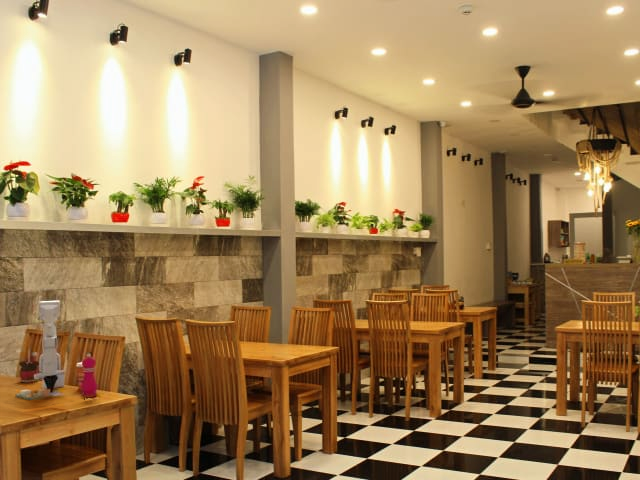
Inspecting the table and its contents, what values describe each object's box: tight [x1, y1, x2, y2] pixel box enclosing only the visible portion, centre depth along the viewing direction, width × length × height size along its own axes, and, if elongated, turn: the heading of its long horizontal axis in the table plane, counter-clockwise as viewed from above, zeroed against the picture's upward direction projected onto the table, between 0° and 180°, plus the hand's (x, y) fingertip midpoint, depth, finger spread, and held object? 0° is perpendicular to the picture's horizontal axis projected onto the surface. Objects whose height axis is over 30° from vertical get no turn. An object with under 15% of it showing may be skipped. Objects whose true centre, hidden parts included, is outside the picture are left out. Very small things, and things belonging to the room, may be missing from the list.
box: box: [15, 393, 46, 401], centre depth 316 cm, size 7×14×2 cm, turn 47°
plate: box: [31, 391, 64, 398], centre depth 322 cm, size 10×14×2 cm
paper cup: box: [76, 361, 84, 391], centre depth 334 cm, size 8×8×14 cm
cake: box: [18, 346, 40, 383], centre depth 369 cm, size 11×9×18 cm
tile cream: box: [19, 389, 32, 397], centre depth 317 cm, size 4×4×3 cm
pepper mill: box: [80, 353, 99, 400], centre depth 319 cm, size 7×7×20 cm
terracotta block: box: [37, 388, 50, 398], centre depth 317 cm, size 4×4×3 cm
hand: (50, 392), depth 320 cm, fingers closed
